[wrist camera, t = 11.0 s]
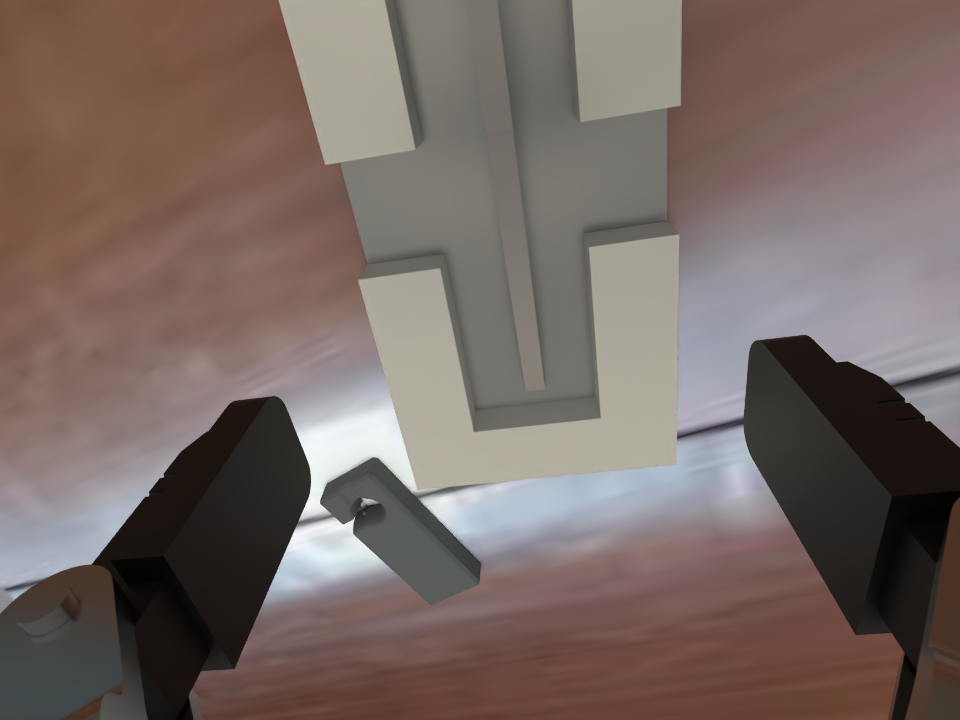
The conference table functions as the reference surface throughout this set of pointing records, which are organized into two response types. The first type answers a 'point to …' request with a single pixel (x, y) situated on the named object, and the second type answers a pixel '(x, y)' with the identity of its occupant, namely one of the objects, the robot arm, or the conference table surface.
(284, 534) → the robot arm
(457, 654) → the conference table surface
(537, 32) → the case insert
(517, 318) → the caliper
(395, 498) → the bracket
